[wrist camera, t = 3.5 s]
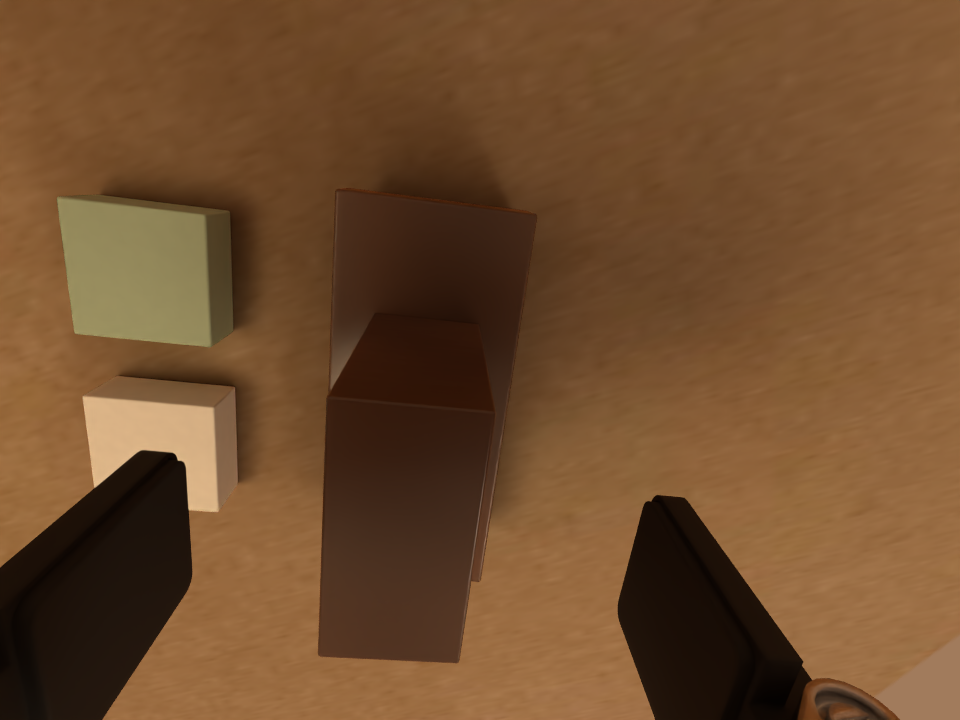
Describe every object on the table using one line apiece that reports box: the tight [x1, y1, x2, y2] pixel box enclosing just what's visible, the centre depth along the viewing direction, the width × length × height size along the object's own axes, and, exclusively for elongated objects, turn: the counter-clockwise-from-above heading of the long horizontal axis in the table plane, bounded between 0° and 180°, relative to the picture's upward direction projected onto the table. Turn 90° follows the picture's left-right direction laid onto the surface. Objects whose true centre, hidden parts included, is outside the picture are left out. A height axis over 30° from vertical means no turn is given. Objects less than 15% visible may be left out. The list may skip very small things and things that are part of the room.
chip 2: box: [83, 376, 238, 512], centre depth 18 cm, size 4×4×2 cm
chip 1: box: [57, 195, 233, 347], centre depth 16 cm, size 4×4×2 cm
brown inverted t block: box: [318, 188, 537, 663], centre depth 14 cm, size 5×12×9 cm, turn 173°
